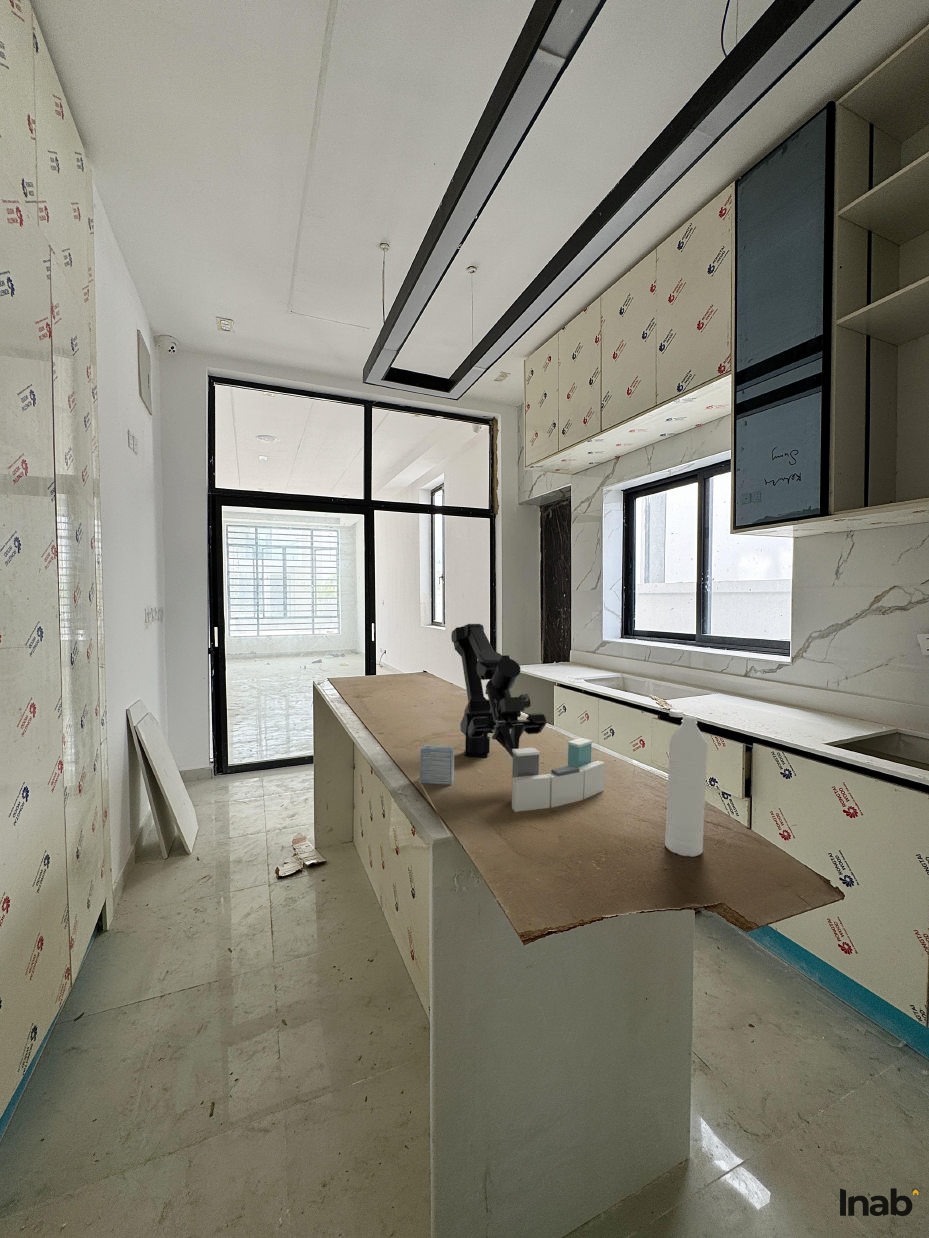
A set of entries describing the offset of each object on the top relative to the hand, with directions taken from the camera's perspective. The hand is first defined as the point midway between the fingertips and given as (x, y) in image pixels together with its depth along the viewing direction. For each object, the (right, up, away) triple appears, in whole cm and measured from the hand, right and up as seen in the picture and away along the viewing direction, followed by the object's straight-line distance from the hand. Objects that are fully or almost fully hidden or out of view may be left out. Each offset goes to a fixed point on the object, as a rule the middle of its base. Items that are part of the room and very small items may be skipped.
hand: (515, 757), depth 122 cm
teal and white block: (+15, -8, +3) cm, 18 cm away
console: (+10, -9, -3) cm, 13 cm away
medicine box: (-19, -8, +7) cm, 21 cm away
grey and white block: (+1, -8, -5) cm, 10 cm away
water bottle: (+29, -11, -23) cm, 38 cm away
